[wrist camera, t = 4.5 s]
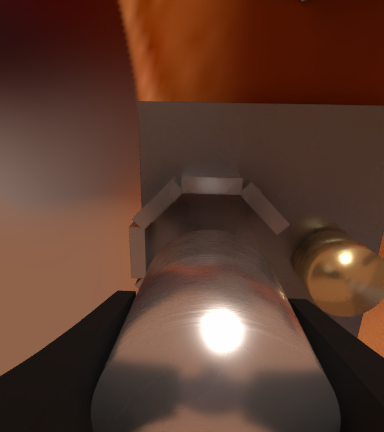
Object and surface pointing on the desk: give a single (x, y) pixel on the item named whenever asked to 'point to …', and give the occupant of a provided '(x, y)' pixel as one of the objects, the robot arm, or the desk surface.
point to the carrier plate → (271, 192)
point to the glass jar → (212, 349)
